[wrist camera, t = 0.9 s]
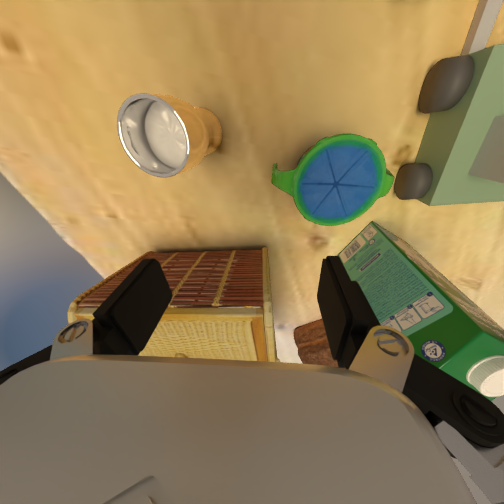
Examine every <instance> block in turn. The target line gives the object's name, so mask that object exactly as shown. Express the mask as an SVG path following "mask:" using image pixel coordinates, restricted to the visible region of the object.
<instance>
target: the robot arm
mask: <svg viewBox="0 0 504 504" xmlns="http://www.w3.org/2000/svg"><path fill="white" fill-rule="evenodd" d="M172 296H173V294H172V291H171V289H170V286H169V284H168V282H167V279H166V277H165V275H164V272H163V270H162V268H161V265H160V263H159V262H158V261H157V260H156V259H154V258H145V259H143V260H142V261H141V262H140V263H139V264H138V265H137V266H136V267H135V268H134V269H133V271H132V272H131V273H130V274H129V275H128V276H127V277H126V278H125V279H124V280H123V281H122V282H121V283H120V285H119V286H118V287H117V288H116V289H115V290H114V291H113V292H112V293H111V294H110V295H109V296H108V298H107V299H106V300H105V301H104V302H103V303H102V304H101V305H100V306H99V307H98V308H97V309H96V311H95V312H94V313H93V314H92V315H93V316H94V319H93V320H90V319H87V318H84V319H79V320H76V321H74V322H72V323H70V324H68V325H67V326H65V327H64V328H63V329H62V330H60V331H59V332H58V334H57V335H56V336H55V338H54V341H53V345H51V346H49V347H47V348H45V349H43V350H41V351H39V352H37V353H35V354H33V355H31V356H29V357H27V358H25V359H23V360H21V361H19V362H17V363H15V364H13V365H11V366H9V367H7V368H6V369H4V370H2V371H0V504H477V503H476V501H475V499H474V497H473V495H472V493H471V492H470V490H469V488H468V486H467V484H466V483H465V481H464V479H463V477H462V475H461V473H460V472H459V470H458V468H457V466H456V465H455V463H454V461H453V460H452V458H451V457H454V458H456V459H458V461H460V462H461V464H462V465H463V466H464V467H465V468H466V469H467V470H468V471H469V473H470V474H471V476H470V478H471V479H472V480H473V481H474V482H475V484H476V485H477V486H478V487H479V488H480V489H481V490H482V491H483V493H484V494H485V495H486V497H487V498H488V499H489V501H490V502H491V503H492V504H504V414H503V413H502V412H501V411H500V409H499V408H497V406H496V405H494V404H493V403H492V402H491V401H490V400H489V399H487V398H486V397H485V396H483V395H482V394H480V393H479V392H477V391H475V390H474V389H472V388H470V387H469V386H467V385H466V384H464V383H462V382H461V381H459V380H457V379H456V378H454V377H452V376H451V375H449V374H447V373H446V372H444V371H443V370H441V369H439V368H438V367H436V366H434V365H433V364H431V363H429V362H428V361H426V360H424V359H423V358H421V357H420V356H418V355H416V354H415V353H414V348H413V345H412V343H411V342H410V340H409V339H408V338H407V337H406V336H405V335H404V334H403V333H401V332H400V331H398V330H396V329H394V328H392V327H389V326H383V325H380V323H379V321H378V319H377V317H376V315H375V313H374V312H373V310H372V308H371V306H370V304H369V302H368V300H367V298H366V296H365V295H364V293H363V291H362V289H361V287H360V285H359V283H358V282H357V281H351V279H350V277H349V275H348V273H347V271H346V269H345V267H344V265H343V263H342V261H341V259H340V257H339V256H327V257H326V259H323V261H322V268H321V274H320V280H319V287H318V293H317V299H318V304H319V308H320V312H321V316H322V319H323V323H324V327H325V331H326V335H327V339H328V343H329V347H330V351H331V355H332V358H333V360H337V363H338V367H339V368H338V367H331V366H323V365H313V364H298V363H283V362H265V361H245V360H226V359H204V358H183V357H159V356H138V355H139V353H140V352H141V351H143V350H144V348H145V346H146V344H147V343H148V341H149V339H150V337H151V336H152V334H153V332H154V330H155V328H156V327H157V325H158V323H159V321H160V319H161V318H162V316H163V314H164V312H165V310H166V309H167V307H168V305H169V303H170V301H171V300H172ZM343 368H345V369H343Z"/></svg>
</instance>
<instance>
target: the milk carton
mask: <svg viewBox="0 0 504 504" xmlns="http://www.w3.org/2000/svg"><path fill="white" fill-rule="evenodd" d="M338 256H339V257H340V259H341V261H342V263H343V265H344V267H345V269H346V271H347V273H348V275H349V277H350V279H351V281H357V282H358V283H359V285H360V287H361V289H362V291H363V293H364V295H365V296H366V298H367V300H368V302H369V304H370V306H371V308H372V310H373V312H374V313H375V315H376V317H377V319H378V321H379V323H380V325H383V326H389V327H392V328H394V329H396V330H398V331H400V332H401V333H403V334H404V335H405V336H406V337H407V338H408V339H409V340H410V342H411V343H412V345H413V348H414V353H415V354H416V355H418V356H420V357H421V358H423V359H424V360H426V361H428V362H429V363H431V364H433V365H434V366H436V367H438V368H439V369H441V370H443V371H444V372H446V373H447V374H449V375H451V376H452V377H454V378H456V379H457V380H459V381H461V382H462V383H464V384H466V385H467V386H469V387H470V388H472V389H474V390H475V391H477V392H479V393H480V394H482V395H483V396H485V397H486V398H487V399H489V400H490V401H492V400H493V399H495V398H496V397H498V396H500V395H501V396H502V395H504V329H503V328H501V327H500V326H499V325H498V324H497V323H496V322H495V321H494V320H493V319H491V318H490V317H489V316H488V315H487V314H486V313H485V312H484V311H482V310H481V309H480V308H479V307H478V306H477V305H476V304H475V303H474V302H472V301H471V300H470V299H469V298H468V297H467V296H466V295H465V294H464V293H462V292H461V291H460V290H459V289H458V288H457V287H456V286H455V285H453V284H452V283H451V282H450V281H449V280H448V279H447V278H446V277H445V276H443V275H442V274H441V273H440V272H439V271H438V270H437V269H436V268H434V267H433V266H432V265H431V264H430V263H429V262H428V261H427V260H426V259H424V258H423V257H422V256H421V255H420V254H419V253H418V252H417V251H416V250H414V249H413V248H412V247H411V246H410V245H409V244H408V243H406V242H405V241H403V240H402V239H400V238H398V237H397V236H395V235H394V234H392V233H390V232H389V231H387V230H386V229H384V228H382V227H381V226H379V225H378V224H376V223H374V222H373V221H372V222H371V223H370V224H369V225H368V226H367V227H366V228H365V229H364V230H363V231H362V232H361V233H360V234H359V235H358V236H357V237H356V238H355V239H354V240H353V241H352V242H351V243H350V244H349V245H348V246H347V247H346V248H345V249H344V250H343V251H342V252H341V253H340V254H339V255H338Z"/></svg>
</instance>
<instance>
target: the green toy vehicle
mask: <svg viewBox="0 0 504 504" xmlns="http://www.w3.org/2000/svg"><path fill="white" fill-rule="evenodd" d="M502 3H503V0H480V1H479V4H478V7H477V10H476V12H475V15H474V18H473V21H472V24H471V27H470V30H469V33H468V36H467V38H466V41H465V44H464V47H463V50H462V53H461V56H457V57H451V58H445V59H442V60H440V61H439V62H437V63H436V64H435V65H434V66H433V68H432V69H431V70H430V72H429V73H428V75H427V77H426V79H425V81H424V83H423V86H422V89H421V92H420V97H419V107H420V110H421V111H422V112H423V113H431V114H430V117H429V120H428V124H427V127H426V130H425V133H424V136H423V139H422V142H421V145H420V148H419V151H418V155H417V158H416V161H415V164H407V165H405V166H403V167H402V168H401V169H400V170H399V172H398V174H397V176H396V180H395V193H396V196H397V197H398V198H399V199H401V200H408V199H417V200H419V201H421V202H423V203H425V204H427V205H428V206H436V205H451V204H467V203H482V202H497V201H504V44H499V45H494V46H491V47H488V48H485V47H486V44H487V41H488V39H489V36H490V34H491V31H492V29H493V26H494V23H495V21H496V18H497V16H498V13H499V11H500V8H501V5H502Z"/></svg>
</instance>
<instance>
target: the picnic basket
mask: <svg viewBox="0 0 504 504" xmlns="http://www.w3.org/2000/svg"><path fill="white" fill-rule="evenodd" d="M145 258H154V259H156V260H157V261H158V262H159V263H160V265H161V268H162V270H163V272H164V275H165V277H166V279H167V282H168V284H169V286H170V289H171V291H172V294H173V296H172V300H171V301H170V303H169V305H168V307H167V309H166V310H165V312H164V314H163V316H162V318H161V319H160V321H159V323H158V325H157V327H156V328H155V330H154V332H153V334H152V336H151V337H150V339H149V341H148V343H147V344H146V346H145V348H144V350H143V351H141V352H140V353H139V355H138V356H159V357H183V358H204V359H226V360H245V361H265V362H280V360H279V359H278V358H277V351H276V341H275V331H274V322H273V310H272V297H271V285H270V273H269V261H268V250H267V248H266V247H263V249H260V250H232V251H204V252H176V253H156V252H152V251H150V252H147V253H145V254H144V255H142V256H140V257H139V258H137V259H136V260H134V261H133V262H131V263H129V264H128V265H126V266H125V267H123V268H122V269H120V270H118V271H117V272H115V273H114V274H112V275H110V276H109V277H107V278H106V279H104V280H103V281H101V282H99V283H98V284H96V285H95V286H93V287H92V288H90V289H88V290H87V291H85V292H84V293H82V294H80V295H79V296H78V297H77V298H76V299H74V300H73V301H72V302H71V305H70V307H69V310H68V322H69V324H70V323H72V322H74V321H76V320H79V319H84V318H87V319H90V320H93V319H94V316H93V315H92V314H93V313H94V312H95V311H96V309H97V308H98V307H99V306H100V305H101V304H102V303H103V302H104V301H105V300H106V299H107V298H108V296H109V295H110V294H111V293H112V292H113V291H114V290H115V289H116V288H117V287H118V286H119V285H120V283H121V282H122V281H123V280H124V279H125V278H126V277H127V276H128V275H129V274H130V273H131V272H132V271H133V269H134V268H135V267H136V266H137V265H138V264H139V263H140V262H141V261H142V260H143V259H145Z"/></svg>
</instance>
